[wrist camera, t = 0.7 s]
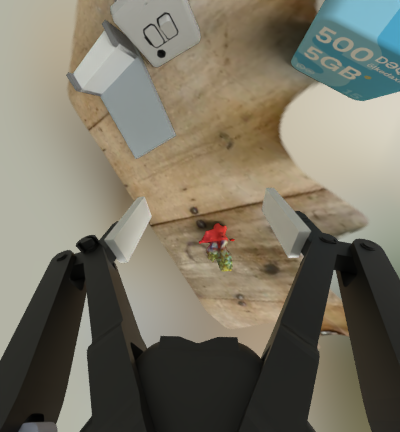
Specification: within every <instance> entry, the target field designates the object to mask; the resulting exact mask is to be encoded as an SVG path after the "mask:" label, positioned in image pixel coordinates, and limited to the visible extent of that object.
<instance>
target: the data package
mask: <svg viewBox="0 0 400 432" xmlns="http://www.w3.org/2000/svg"><path fill="white" fill-rule="evenodd" d="M291 64H292V66H293V67H294V68H295V69H297V70H298V71H300V72H302V73H304V74H306V75H308V76H310V77H312V78H314V79H315V80H317V81H319V82H321V83H323V84H325V85H327V86H329V87H331V88H333V89H334V90H336V91H338V92H340V93H342V94H344V95H346V96H348V97H350V98H352V99H354V100H359V101H365V100H369V99H373V98H377V97H380V96H384V95H388V94H392V93H395V92H399V91H400V0H325V1H324V3H323V5H322V6H321V8H320V10H319V12H318V13H317V15H316V17H315V19H314V20H313V22H312V24H311V26H310V28H309V29H308V31H307V33H306V35H305V36H304V38H303V40H302V42H301V44H300V45H299V47H298V49H297V51H296V52H295V54H294V56H293V58H292V60H291Z"/></svg>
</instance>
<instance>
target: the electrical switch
mask: <svg viewBox="0 0 400 432" xmlns="http://www.w3.org/2000/svg"><path fill="white" fill-rule="evenodd" d="M110 10H111V14H112V17H113V21H114V23H115V24H116V25H117V26H118V27H119V28H120V29H121V30H122V31H123V33H124V34H125V35H126V36H127V37H128V38H129V39H130V40H131V42H132V43H133V44H134V45H135V46H136V47H137V48H138V49H139V51H140V52H141V53H142V54H143V55H144V56H145V57H146V58H147V60H148V61H149V62H150V63H151V64H152V65H153V66H154V67H159V66H161V65H163V64H164V63H166V62H168V61H169V60H171V59H173V58H174V57H176V56H178V55H179V54H181V53H183V52H184V51H186V50H187V49H189V48H191V47H192V46H194V45H196V44H197V43H199V42H200V38H201V36H200V29H199V27H198V24H197V22H196V20H195V17H194V15H193V12H192V10H191V7H190V5H189V2H188V0H115V3H114V4H113V5H112V6H110Z"/></svg>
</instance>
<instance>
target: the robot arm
mask: <svg viewBox="0 0 400 432" xmlns="http://www.w3.org/2000/svg"><path fill="white" fill-rule="evenodd" d="M262 211H263V213H264V215H265V217H266V219H267V220H268V222H269V224H270V226H271V228H272V229H273V231H274V233H275V235H276V237H277V238H278V240H279V242H280V244H281V246H282V247H283V249H284V251H285V253H286V255H287V256H288V258H292V257H299V255H300V253H302V254H303V256H304V257H303V259H302V261H301V263H300V267H299V269H298V272H297V274H296V276H295V279H294V281H293V284H292V286H291V288H290V291H289V293H288V296H287V298H286V300H285V303H284V305H283V308H282V310H281V313H280V315H279V317H278V320H277V322H276V325H275V327H274V330H273V332H272V334H271V337H270V339H269V341H268V344H267V345H266V348H265V350H264V352H263V355H262V357H261V358H260V357H259V356H258V355H257V354H256V353H255V352H254V351H253V350H251V349H250V348H248V347H247V346H245V345H243V344H241V343H238V339H237V337H217V338H214V339H211V340H208V341H205V342H201V343H195V342H192V341H189V340H186V339H184V338H182V337H178V336H177V337H176V336H161V338H160V342H158V343H155V344H153V345H152V346H150V347H149V348H147V347H146V345H145V343H144V341H143V339H142V337H141V335H140V332H139V329H138V326H137V324H136V321H135V318H134V315H133V312H132V309H131V306H130V304H129V301H128V298H127V295H126V292H125V289H124V286H123V284H122V281H121V278H120V275H119V272H118V269H117V266H116V264H115V263H114V261H115V259H116V258H117V260H118V261H119V263H121V262H128V261H129V259H130V257H131V255H132V253H133V252H134V250H135V248H136V246H137V244H138V242H139V240H140V238H141V236H142V234H143V232H144V230H145V228H146V226H147V225H148V223H149V221H150V219H151V217H152V216H151V213H150V210H149V208H148V205H147V202H146V199H145V197H138V198H137V199H136V200H135V201H134V203H133V204H132V205H131V207H130V208H129V209H128V210H127V212H126V213H125V214H124V215H123V217H122V218H121V219H120V220H119V221H117V222H115V223H114V224H113V225H112V226H111V227H110V228H109V229H108V231H107V232H106V233H105V234H104V235H103V236H102V238H101V239H100V240H98V239H97V237H96V236H95V235H89V236H86V237H84V238H82V239H81V240H79V241H78V242H77V243H76V247H77V248H78V249H79V250H80V251H81V252H80V253H76V254H74V253H73V252H72V251H70V250H67V251H63V252H61V253H59V254H57V255H56V256H55V257H54V258H53V259H52V260H51V262H50V264H49V266H48V268H47V270H46V272H45V274H44V276H43V278H42V280H41V281H40V283H39V285H38V287H37V289H36V291H35V293H34V295H33V297H32V299H31V301H30V303H29V305H28V307H27V309H26V311H25V313H24V315H23V317H22V319H21V321H20V323H19V325H18V327H17V329H16V331H15V333H14V335H13V337H12V339H11V341H10V342H9V344H8V347H7V348H6V350H5V352H4V355H3V356H2V358H1V360H0V432H57V427H56V423H57V420H58V417H59V414H60V411H61V408H62V405H63V401H64V397H65V393H66V389H67V385H68V379H69V375H70V371H71V365H72V361H73V356H74V351H75V346H76V341H77V336H78V331H79V327H80V322H81V317H82V312H83V308H84V302H85V298H86V293H87V298H88V306H89V316H90V324H91V333H92V344H91V345H90V346H89V347H88V350H87V361H88V372H89V383H90V396H91V408H92V416H91V418H90V419H89V421H88V422H87V423H86V424H85V425H84V427H83V428H82V429H81V430H80V432H316V431H315V430H314V429H313V427H312V426H311V425H310V423H309V422H308V421H307V419H308V414H309V409H310V404H311V399H312V394H313V389H314V384H315V379H316V374H317V369H318V364H319V351H318V349H317V345H318V339H319V335H320V330H321V326H322V321H323V316H324V312H325V307H326V302H327V298H328V293H329V289H330V284H331V279H332V275H333V270H336V274H337V278H338V283H339V287H340V293H341V298H342V302H343V307H344V312H345V317H346V321H347V326H348V331H349V336H350V340H351V345H352V350H353V355H354V360H355V365H356V369H357V374H358V379H359V384H360V389H361V393H362V398H363V402H364V406H365V410H366V414H367V418H368V422H369V425H370V427H371V430H372V432H400V279H399V277H398V275H397V274H396V272H395V270H394V268H393V267H392V265H391V263H390V261H389V259H388V257H387V256H386V254H385V252H384V250H383V249H382V248H381V247H380V246H379V245H378V244H376V243H374V242H372V241H369V240H365V239H356V240H354V241H353V243H352V244H351V243H345V242H339V241H338V240H337V239H336V238H335V237H333V236H332V235H329V234H326V233H322V232H321V231H320V230H319V229H318V228H317V227H316V226H315V225H314V224H313V223H312V222H311V220H310V219H308V217H307V216H306V215H305V214H303V213H302V212H300V211H294V210H293V209H292V208H291V207H290V206H289V205H288V204H287V202H286V201H285V200H284V199H283V198H282V197H281V196H280V194H279V193H278V192H277V191H276V190H275V189H274V188H266V191H265V196H264V201H263V207H262Z"/></svg>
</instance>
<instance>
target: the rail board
mask: <svg viewBox="0 0 400 432" xmlns="http://www.w3.org/2000/svg"><path fill="white" fill-rule="evenodd" d="M102 25H103V27H104V29H105V30H104V31H103V33H102V34H101V36H100V37H99V38H98V40H97V41H96V43H95V44H94V45H93V47H92V48H91V49H90V51H89V52H88V54H87V55H86V56H85V58H84V59H83V61H82V62H81V63H80V65H79V66H78V67H77V69H76V70H75V72H74V73H73V74H72V73H69V72H68V74H67V75H66V76H67V77H68V79H69V80H70V82H71V84H72V85H73V87H74V89H75V90H76V91H79V92H83V93H88V94H92V95H96V96H100V97H101V99H102V101H103V102H104V104H105V106H106V108H107V109H108V111H109V113H110V115H111V116H112V118H113V120H114V122H115V123H116V125H117V127H118V129H119V130H120V132H121V134H122V136H123V137H124V139H125V141H126V143H127V144H128V146H129V148H130V150H131V151H132V153H133V155H134V157H135V158H136V159H137V158H140V157H141V156H143V155H145V154H146V153H148V152H150V151H151V150H153V149H155V148H156V147H158V146H160V145H161V144H163V143H165V142H166V141H168V140H170V139H171V138H173V137H175V136H176V134H175V132H174V129H173V127H172V125H171V123H170V120H169V118H168V116H167V114H166V111H165V109H164V107H163V105H162V102H161V100H160V98H159V96H158V93H157V91H156V89H155V87H154V84H153V82H152V80H151V77H150V75H149V73H148V71H147V68H146V66H145V64H144V62H143V59H142V57H141V55H140V53H139V50H138V48H137V47H136V46H135V45H134V44H133V43H132V42H131V40H130V39H129V38H128V37H127V36H126V35H125V34H123V33H122V32H121V31H119V30H118V29H117V28H116V27H114V26H113V25H112V24H110V23H109V22H108V21H106V20H104V22H103V23H102Z"/></svg>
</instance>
